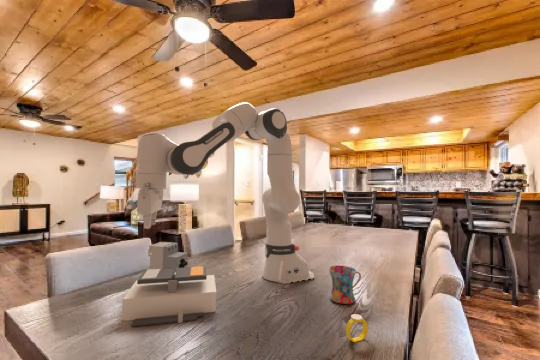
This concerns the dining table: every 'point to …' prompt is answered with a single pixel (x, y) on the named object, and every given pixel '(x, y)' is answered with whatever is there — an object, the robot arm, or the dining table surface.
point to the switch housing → (169, 298)
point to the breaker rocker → (172, 275)
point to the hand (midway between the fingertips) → (149, 226)
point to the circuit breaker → (166, 256)
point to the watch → (348, 328)
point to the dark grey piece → (167, 319)
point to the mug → (343, 284)
